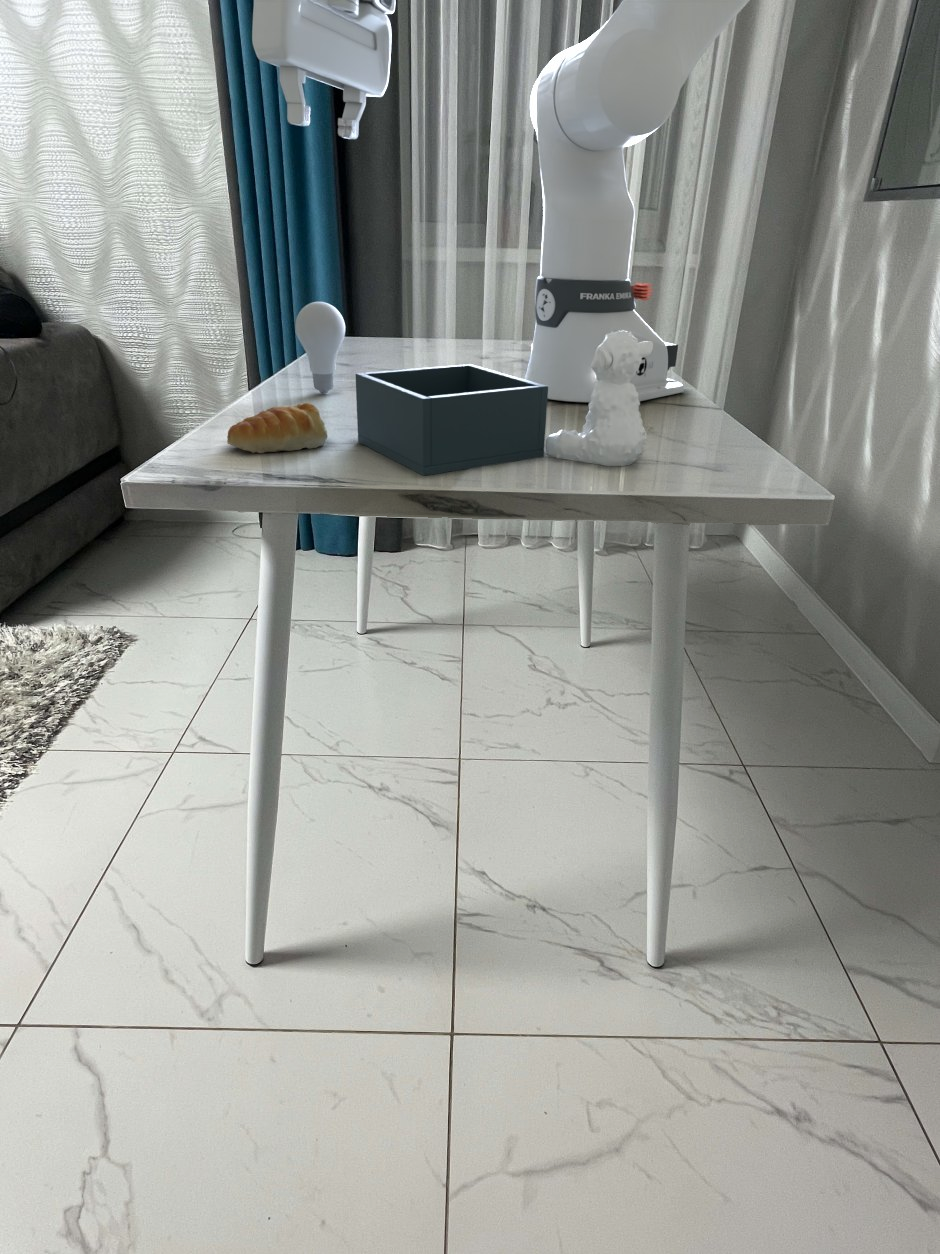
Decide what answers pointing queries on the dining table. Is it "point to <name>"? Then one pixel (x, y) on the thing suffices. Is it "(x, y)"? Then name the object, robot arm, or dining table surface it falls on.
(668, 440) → the dining table surface
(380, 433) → the bin
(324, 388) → the lightbulb
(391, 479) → the dining table surface
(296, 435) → the pastry
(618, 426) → the sitting furry creature
